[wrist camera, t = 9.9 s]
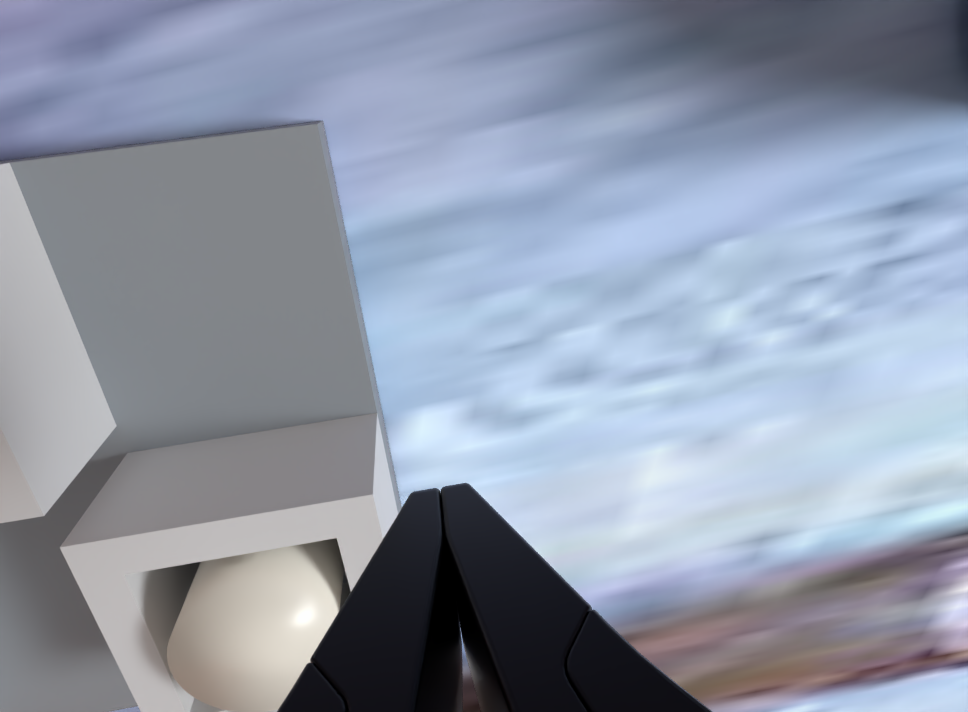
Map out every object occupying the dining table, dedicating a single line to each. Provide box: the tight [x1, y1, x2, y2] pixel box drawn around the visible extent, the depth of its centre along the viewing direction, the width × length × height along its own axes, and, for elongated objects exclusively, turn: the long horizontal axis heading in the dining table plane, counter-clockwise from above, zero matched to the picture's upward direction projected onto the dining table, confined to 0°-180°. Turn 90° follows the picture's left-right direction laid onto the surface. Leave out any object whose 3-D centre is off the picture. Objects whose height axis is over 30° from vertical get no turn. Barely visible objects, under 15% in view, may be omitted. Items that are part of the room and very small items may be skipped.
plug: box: [167, 538, 344, 712], centre depth 20 cm, size 4×4×5 cm
